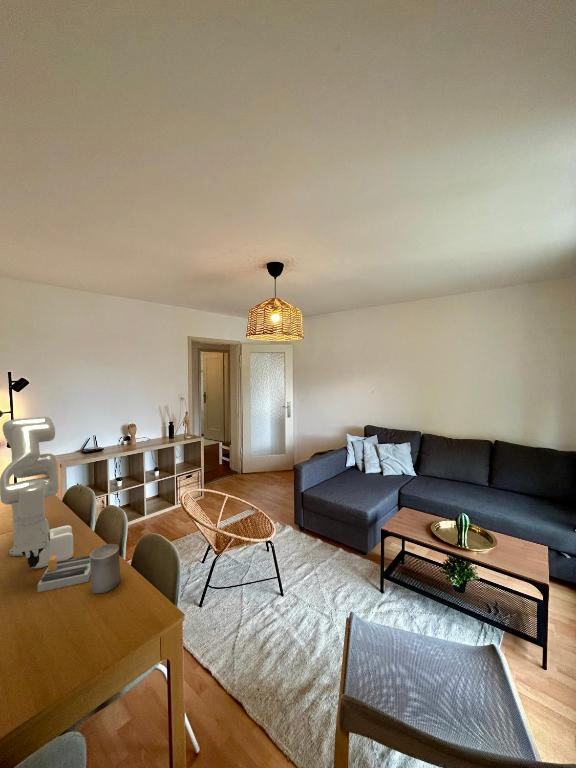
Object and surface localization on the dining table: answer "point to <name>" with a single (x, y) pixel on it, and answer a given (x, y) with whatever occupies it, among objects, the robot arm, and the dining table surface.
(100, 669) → the dining table surface
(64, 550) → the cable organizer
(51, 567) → the lever
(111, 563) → the pillar candle
